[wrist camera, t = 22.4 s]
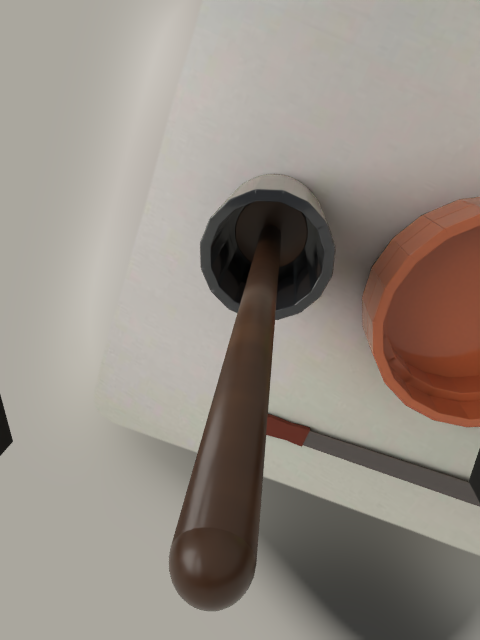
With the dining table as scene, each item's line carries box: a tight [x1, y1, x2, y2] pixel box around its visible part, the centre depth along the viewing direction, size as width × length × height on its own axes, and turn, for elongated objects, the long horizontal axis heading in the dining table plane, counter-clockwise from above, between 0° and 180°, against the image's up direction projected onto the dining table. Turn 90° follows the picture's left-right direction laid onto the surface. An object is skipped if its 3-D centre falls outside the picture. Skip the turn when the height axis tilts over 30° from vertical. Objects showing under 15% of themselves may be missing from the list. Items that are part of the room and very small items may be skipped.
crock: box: [200, 174, 335, 320], centre depth 31 cm, size 8×8×10 cm
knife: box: [266, 414, 480, 507], centre depth 44 cm, size 3×35×1 cm, turn 72°
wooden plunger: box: [169, 201, 308, 611], centre depth 21 cm, size 6×6×30 cm
